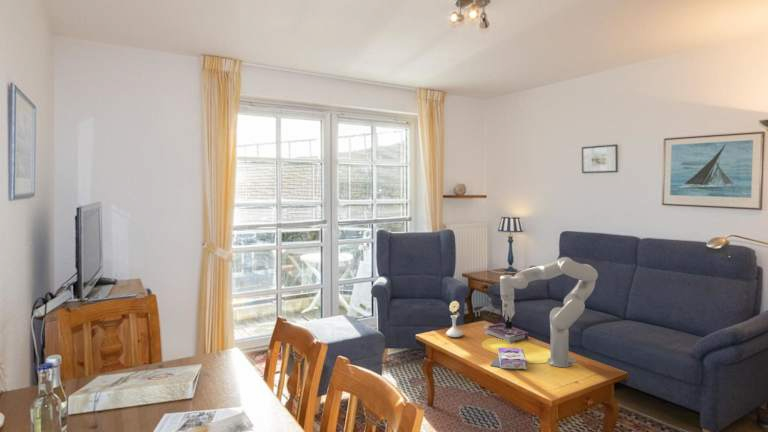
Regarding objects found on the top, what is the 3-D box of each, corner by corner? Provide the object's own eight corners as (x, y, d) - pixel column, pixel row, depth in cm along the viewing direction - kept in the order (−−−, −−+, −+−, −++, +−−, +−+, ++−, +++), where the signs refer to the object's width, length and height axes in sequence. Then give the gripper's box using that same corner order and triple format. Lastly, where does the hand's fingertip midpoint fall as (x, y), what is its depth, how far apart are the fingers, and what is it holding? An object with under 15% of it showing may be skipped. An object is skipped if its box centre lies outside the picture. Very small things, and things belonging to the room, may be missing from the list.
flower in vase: (443, 334, 306) (442, 298, 304) (458, 332, 309) (457, 297, 308) (451, 340, 293) (450, 303, 292) (467, 338, 297) (466, 301, 295)
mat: (520, 362, 253) (520, 361, 253) (515, 370, 243) (515, 369, 243) (495, 358, 260) (495, 357, 260) (490, 366, 249) (490, 365, 249)
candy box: (522, 348, 257) (526, 359, 241) (522, 358, 258) (526, 369, 241) (498, 347, 260) (500, 358, 244) (498, 357, 260) (500, 368, 244)
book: (483, 333, 307) (483, 326, 307) (501, 329, 314) (501, 322, 314) (509, 344, 284) (509, 336, 284) (528, 339, 292) (528, 332, 292)
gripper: (511, 300, 246) (512, 332, 247) (516, 294, 259) (518, 324, 260) (497, 299, 250) (499, 331, 251) (503, 293, 263) (505, 323, 264)
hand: (508, 328), depth 256 cm, fingers closed
